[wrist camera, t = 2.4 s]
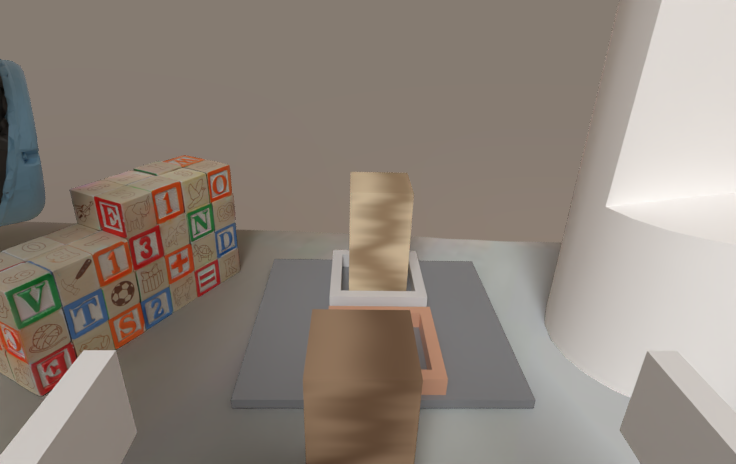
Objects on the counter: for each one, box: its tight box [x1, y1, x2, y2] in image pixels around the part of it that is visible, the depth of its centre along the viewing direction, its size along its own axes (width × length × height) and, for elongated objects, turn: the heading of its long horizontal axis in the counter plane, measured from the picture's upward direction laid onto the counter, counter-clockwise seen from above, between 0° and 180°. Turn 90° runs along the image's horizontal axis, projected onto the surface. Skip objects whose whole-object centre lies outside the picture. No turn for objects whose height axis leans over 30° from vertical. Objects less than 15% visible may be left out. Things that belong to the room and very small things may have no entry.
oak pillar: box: [349, 172, 414, 291], centre depth 45 cm, size 6×6×11 cm
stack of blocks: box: [0, 155, 240, 396], centre depth 41 cm, size 21×6×12 cm, turn 152°
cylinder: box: [545, 0, 736, 413], centre depth 36 cm, size 17×17×28 cm
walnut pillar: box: [303, 309, 423, 464], centre depth 26 cm, size 6×6×11 cm
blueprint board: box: [231, 250, 535, 408], centre depth 43 cm, size 22×20×2 cm
